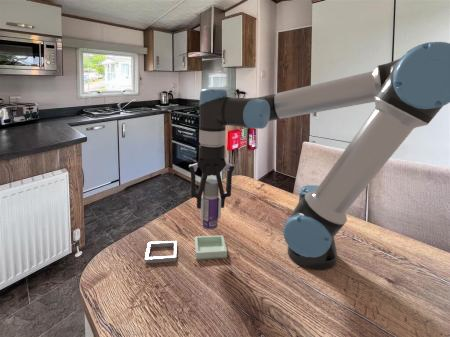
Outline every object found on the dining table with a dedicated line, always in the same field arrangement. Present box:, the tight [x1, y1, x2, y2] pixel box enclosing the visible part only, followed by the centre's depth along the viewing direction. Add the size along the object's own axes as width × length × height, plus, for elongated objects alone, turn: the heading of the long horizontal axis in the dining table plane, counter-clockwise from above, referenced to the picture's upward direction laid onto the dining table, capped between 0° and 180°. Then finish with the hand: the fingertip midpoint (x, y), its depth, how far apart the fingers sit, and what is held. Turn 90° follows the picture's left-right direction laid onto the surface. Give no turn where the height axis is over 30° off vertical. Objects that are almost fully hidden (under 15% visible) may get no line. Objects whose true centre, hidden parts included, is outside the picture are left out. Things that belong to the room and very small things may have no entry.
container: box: [202, 178, 219, 231], centre depth 87 cm, size 5×5×15 cm
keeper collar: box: [144, 240, 178, 264], centre depth 89 cm, size 9×9×2 cm
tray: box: [194, 234, 228, 261], centre depth 91 cm, size 10×10×2 cm
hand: (210, 216), depth 88 cm, fingers closed on container, 5 cm apart
